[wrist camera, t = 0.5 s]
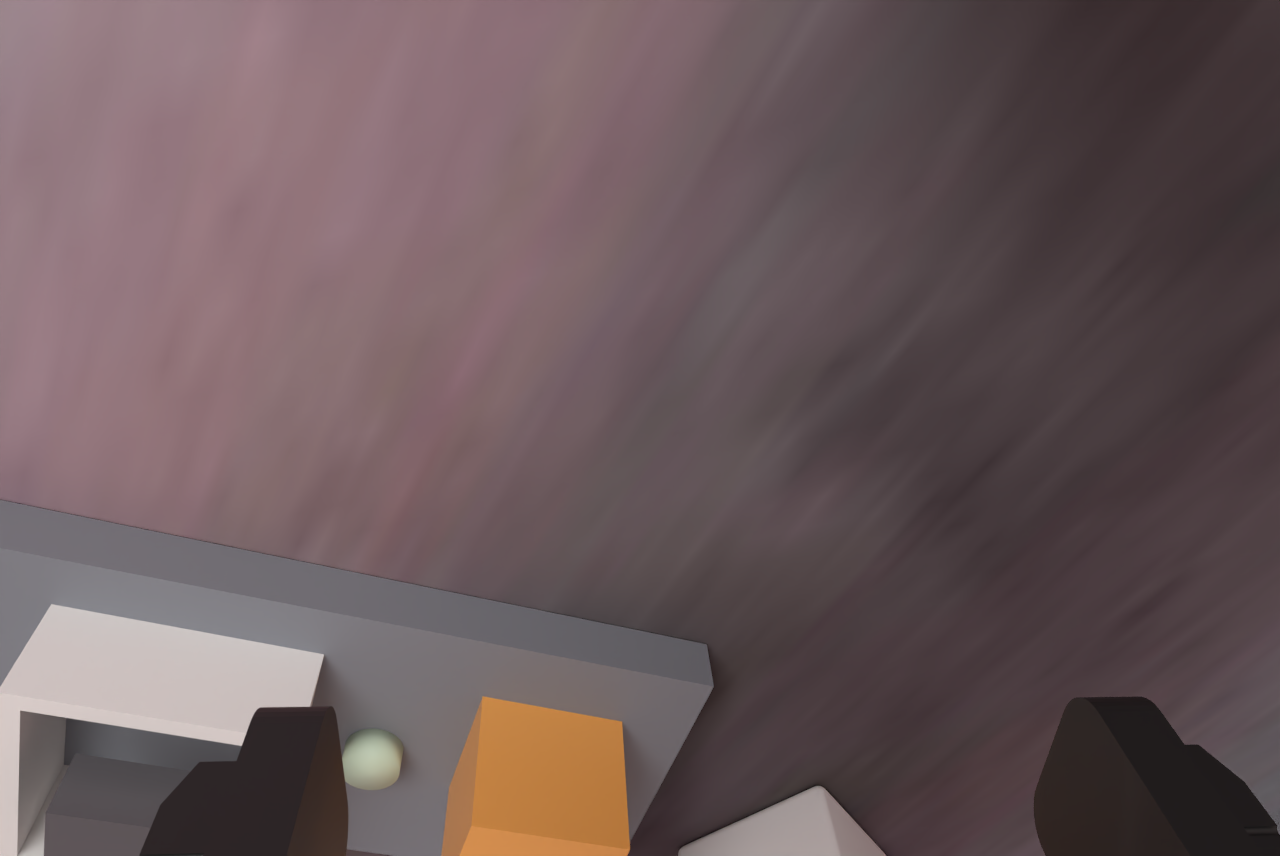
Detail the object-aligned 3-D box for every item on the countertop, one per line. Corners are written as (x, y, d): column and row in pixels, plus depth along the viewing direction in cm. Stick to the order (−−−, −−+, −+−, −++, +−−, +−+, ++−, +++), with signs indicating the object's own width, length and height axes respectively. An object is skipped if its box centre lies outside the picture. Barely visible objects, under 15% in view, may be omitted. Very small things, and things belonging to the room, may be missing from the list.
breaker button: (75, 753, 29) (45, 812, 27) (218, 775, 30) (197, 834, 28) (70, 835, 31) (41, 895, 29) (204, 853, 32) (184, 912, 30)
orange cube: (482, 696, 34) (471, 826, 30) (622, 721, 35) (629, 849, 31) (449, 787, 36) (434, 919, 32) (580, 808, 37) (582, 937, 33)
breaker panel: (-21, 495, 30) (-126, 623, 26) (706, 644, 36) (727, 771, 31) (-19, 747, 36) (-103, 887, 32) (604, 841, 42) (609, 972, 37)
